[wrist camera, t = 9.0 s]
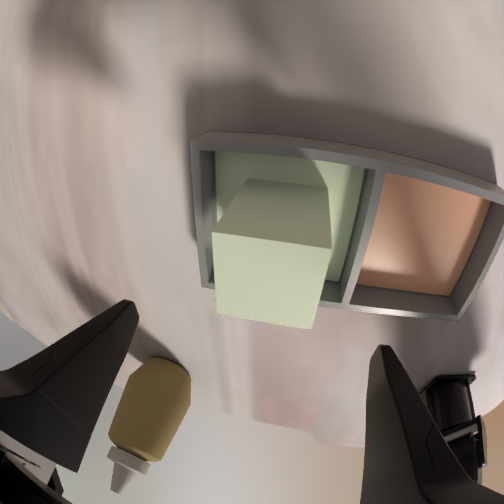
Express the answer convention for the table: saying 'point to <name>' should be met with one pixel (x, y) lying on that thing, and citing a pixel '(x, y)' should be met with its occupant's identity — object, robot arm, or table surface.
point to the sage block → (273, 253)
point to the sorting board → (365, 219)
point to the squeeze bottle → (147, 418)
